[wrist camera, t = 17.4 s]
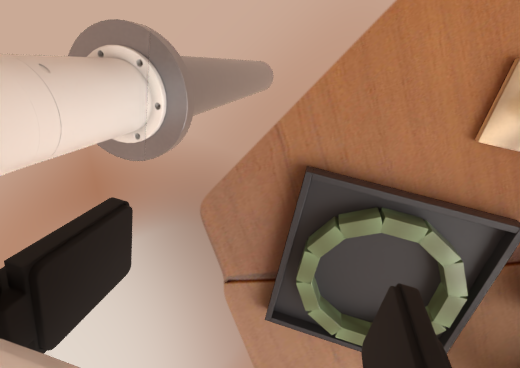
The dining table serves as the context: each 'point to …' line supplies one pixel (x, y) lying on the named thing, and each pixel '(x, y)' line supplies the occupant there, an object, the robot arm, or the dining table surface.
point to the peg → (504, 114)
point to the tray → (384, 254)
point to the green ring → (395, 224)
